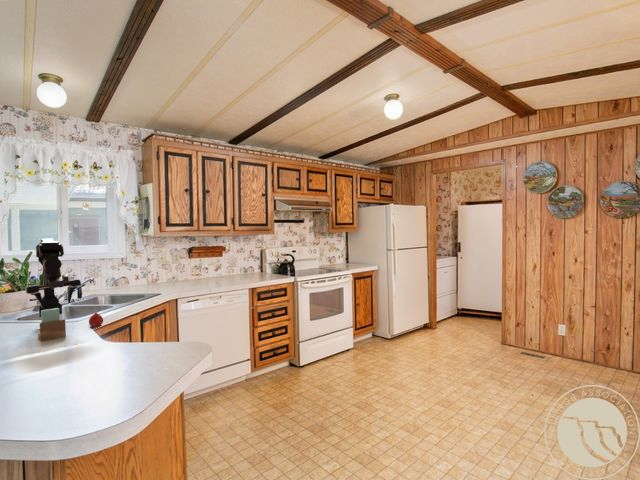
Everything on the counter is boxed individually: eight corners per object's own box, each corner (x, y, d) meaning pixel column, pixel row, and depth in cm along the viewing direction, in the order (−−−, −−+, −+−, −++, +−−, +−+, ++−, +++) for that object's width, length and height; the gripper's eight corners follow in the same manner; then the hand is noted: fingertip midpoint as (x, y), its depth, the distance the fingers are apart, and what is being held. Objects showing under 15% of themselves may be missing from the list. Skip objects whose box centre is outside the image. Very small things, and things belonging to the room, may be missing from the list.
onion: (86, 329, 166) (85, 312, 166) (98, 326, 171) (98, 310, 171) (93, 330, 163) (92, 314, 163) (105, 327, 168) (105, 311, 168)
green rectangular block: (42, 337, 150) (40, 310, 150) (59, 334, 155) (57, 307, 154) (43, 338, 148) (41, 311, 148) (60, 335, 152) (59, 308, 152)
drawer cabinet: (36, 337, 154) (35, 317, 154) (59, 333, 160) (59, 314, 160) (40, 344, 144) (39, 323, 144) (66, 339, 151) (65, 319, 150)
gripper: (26, 274, 138) (31, 312, 139) (81, 267, 151) (85, 302, 152) (23, 273, 146) (28, 309, 146) (76, 266, 159) (80, 300, 160)
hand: (56, 305), depth 151 cm, fingers open, 9 cm apart
